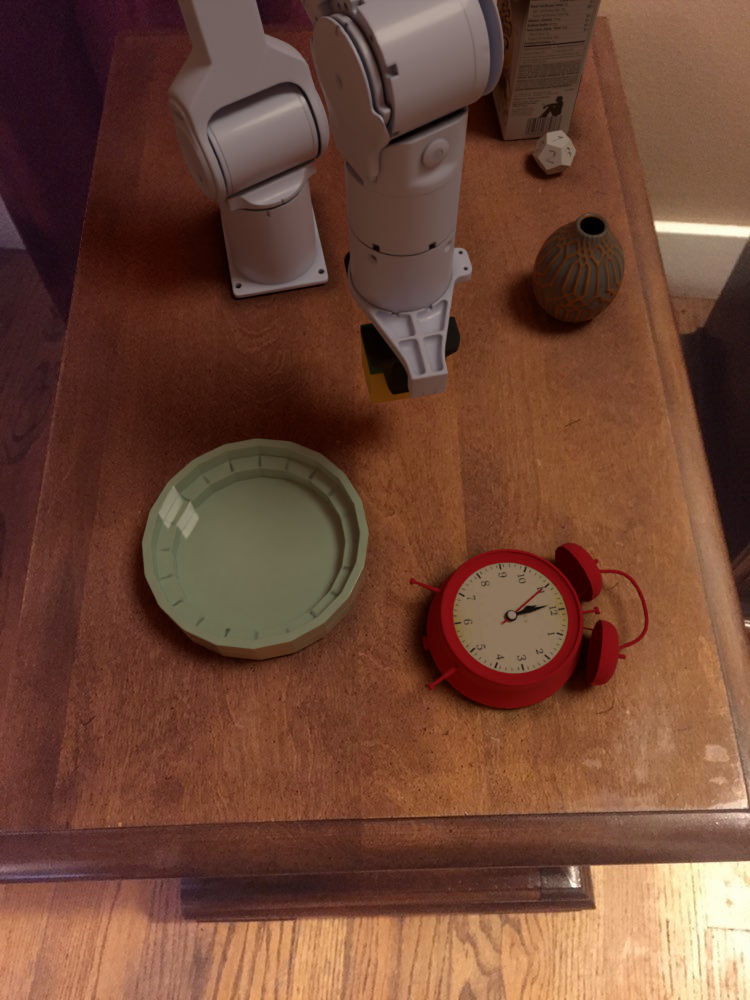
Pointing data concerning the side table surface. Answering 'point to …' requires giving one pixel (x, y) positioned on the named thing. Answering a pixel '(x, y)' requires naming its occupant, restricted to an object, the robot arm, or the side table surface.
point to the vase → (579, 269)
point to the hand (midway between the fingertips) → (399, 363)
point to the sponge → (377, 380)
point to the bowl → (257, 548)
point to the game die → (554, 152)
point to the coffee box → (542, 64)
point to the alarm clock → (520, 625)
